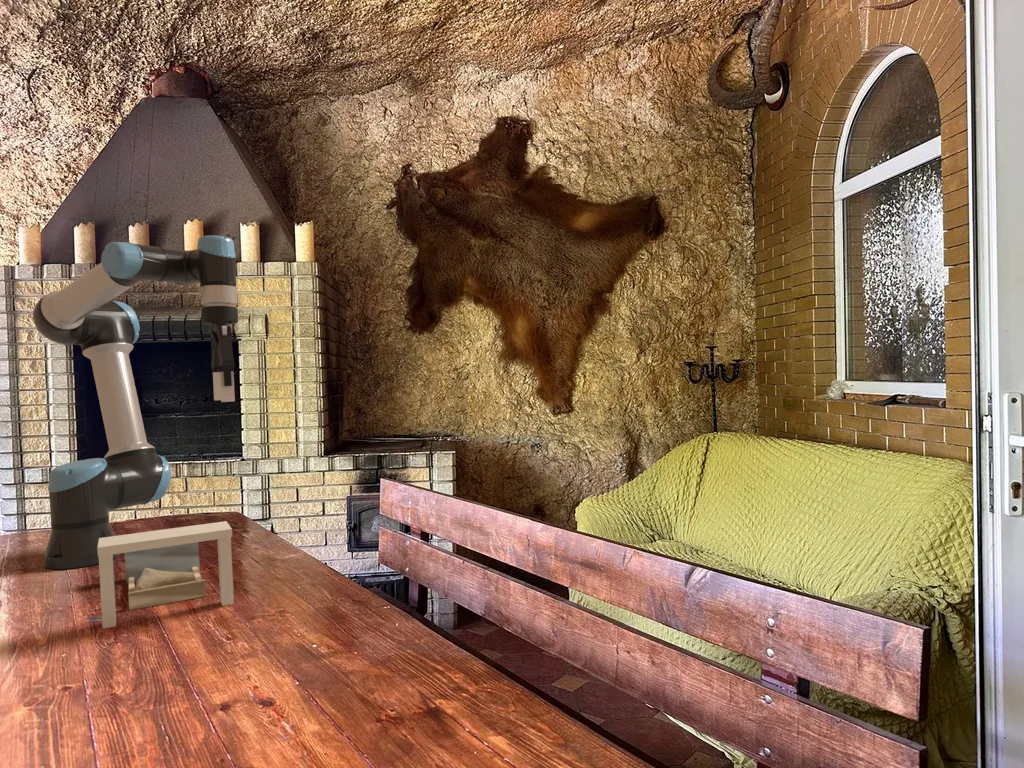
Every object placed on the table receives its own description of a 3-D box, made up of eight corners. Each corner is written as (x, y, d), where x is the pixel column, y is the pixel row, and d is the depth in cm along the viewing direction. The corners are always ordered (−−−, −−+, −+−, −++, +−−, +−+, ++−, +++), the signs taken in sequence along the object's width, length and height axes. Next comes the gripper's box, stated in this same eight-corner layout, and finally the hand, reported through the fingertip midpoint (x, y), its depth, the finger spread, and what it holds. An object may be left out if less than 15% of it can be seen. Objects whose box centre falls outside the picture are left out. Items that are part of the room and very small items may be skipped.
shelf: (103, 619, 123) (99, 538, 122) (230, 596, 133) (226, 521, 132) (102, 633, 116) (97, 547, 115) (235, 607, 126) (231, 528, 125)
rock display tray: (126, 578, 147) (123, 536, 147) (198, 567, 154) (196, 527, 154) (126, 610, 127) (123, 561, 127) (208, 595, 134) (206, 549, 133)
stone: (136, 601, 131) (135, 575, 130) (127, 594, 135) (126, 569, 135) (198, 586, 138) (197, 562, 138) (188, 580, 143) (186, 557, 143)
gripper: (196, 311, 164) (200, 400, 164) (206, 300, 142) (212, 403, 143) (230, 311, 168) (234, 398, 168) (245, 300, 146) (250, 401, 146)
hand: (224, 401), depth 155 cm, fingers open, 13 cm apart
